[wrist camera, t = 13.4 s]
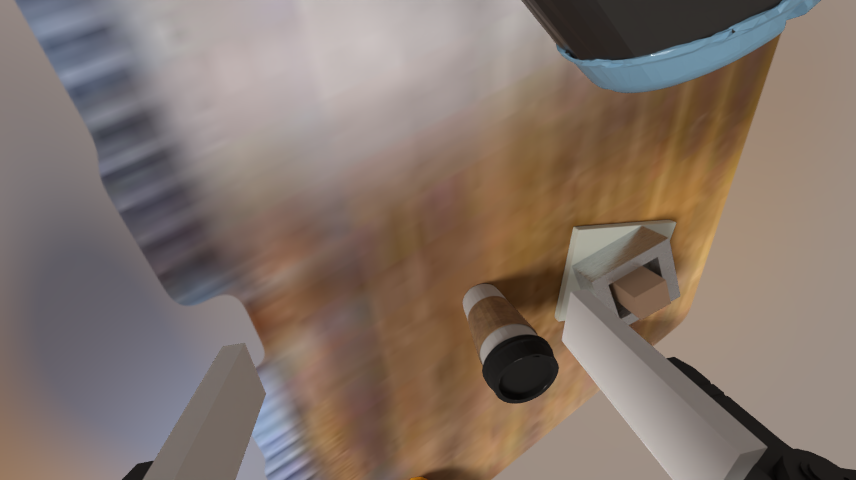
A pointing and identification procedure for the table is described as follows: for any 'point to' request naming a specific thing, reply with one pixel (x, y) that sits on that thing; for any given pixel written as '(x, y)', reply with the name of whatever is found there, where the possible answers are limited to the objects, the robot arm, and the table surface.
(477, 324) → the coffee cup
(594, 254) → the square frame
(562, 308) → the post board
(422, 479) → the potion bottle
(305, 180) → the table surface
